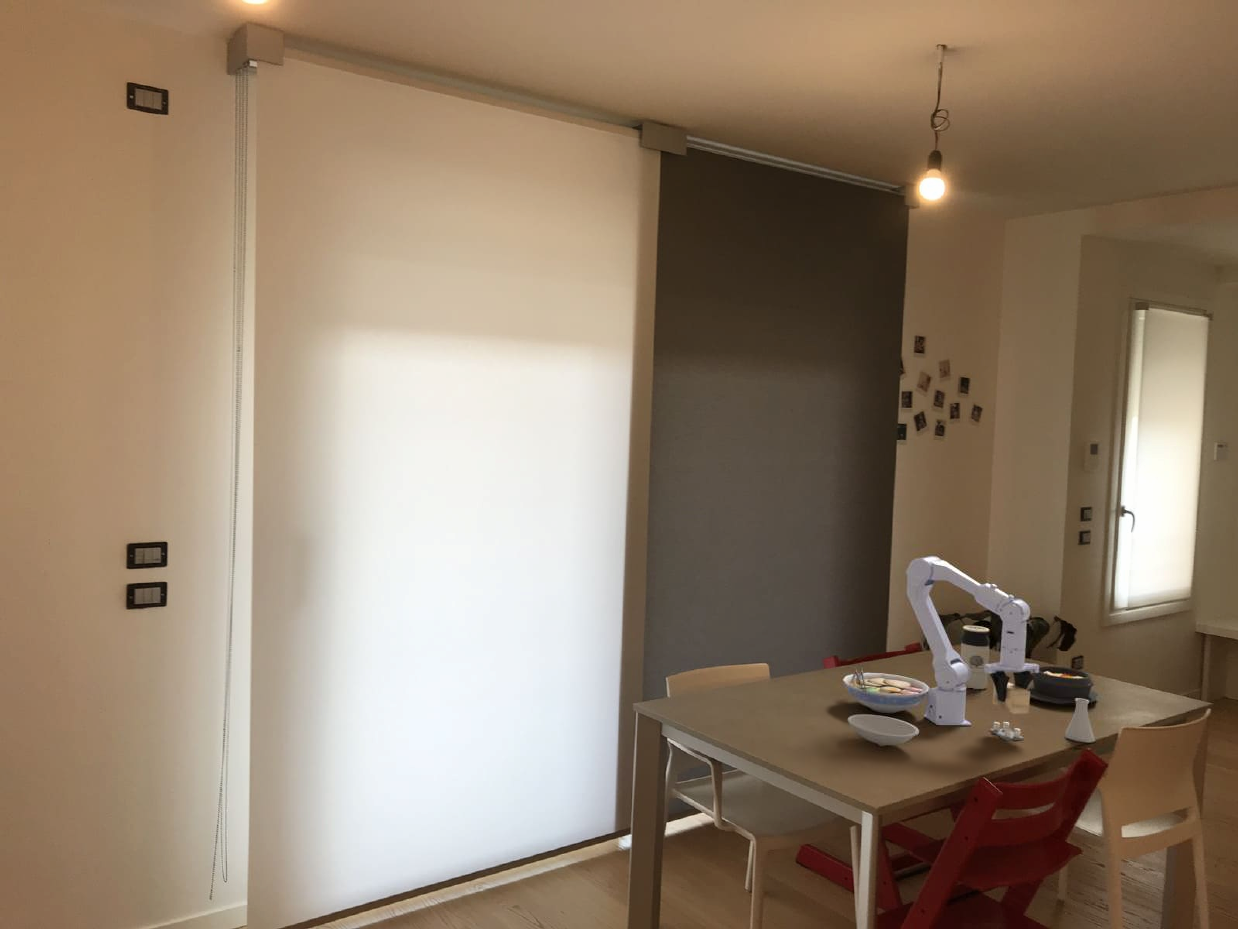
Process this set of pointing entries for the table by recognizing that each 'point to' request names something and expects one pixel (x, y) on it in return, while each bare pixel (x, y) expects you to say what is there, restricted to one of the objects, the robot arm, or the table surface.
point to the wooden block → (1013, 699)
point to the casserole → (1061, 685)
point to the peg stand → (1006, 732)
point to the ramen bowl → (885, 691)
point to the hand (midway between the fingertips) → (1009, 700)
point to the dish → (883, 729)
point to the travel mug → (975, 655)
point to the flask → (1080, 723)
